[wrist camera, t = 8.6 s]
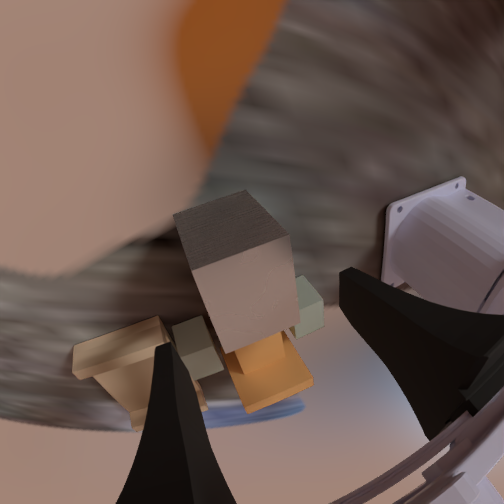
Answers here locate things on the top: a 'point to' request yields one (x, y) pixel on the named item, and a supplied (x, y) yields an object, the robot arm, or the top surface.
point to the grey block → (240, 268)
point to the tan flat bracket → (126, 365)
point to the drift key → (267, 371)
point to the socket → (202, 345)
